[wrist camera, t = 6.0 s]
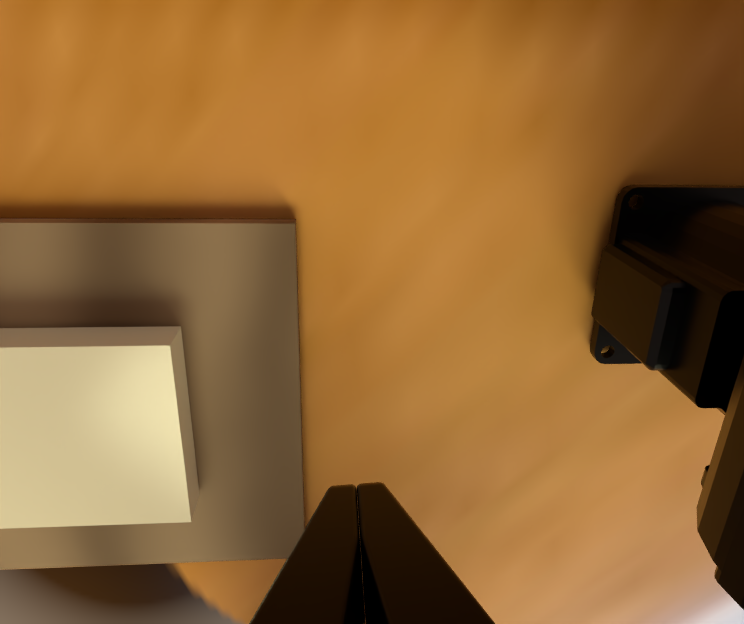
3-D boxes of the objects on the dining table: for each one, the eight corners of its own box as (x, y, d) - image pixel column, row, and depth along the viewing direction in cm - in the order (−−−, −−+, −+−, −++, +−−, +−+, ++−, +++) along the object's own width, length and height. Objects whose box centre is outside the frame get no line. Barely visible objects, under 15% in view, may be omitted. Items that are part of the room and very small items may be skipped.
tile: (170, 345, 18) (-100, 348, 18) (191, 522, 21) (-43, 530, 21) (181, 324, 20) (-67, 326, 19) (200, 491, 23) (-18, 498, 22)
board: (295, 219, 20) (294, 223, 19) (305, 546, 25) (304, 557, 24) (-154, 217, 18) (-169, 222, 18) (-44, 560, 24) (-53, 571, 23)
